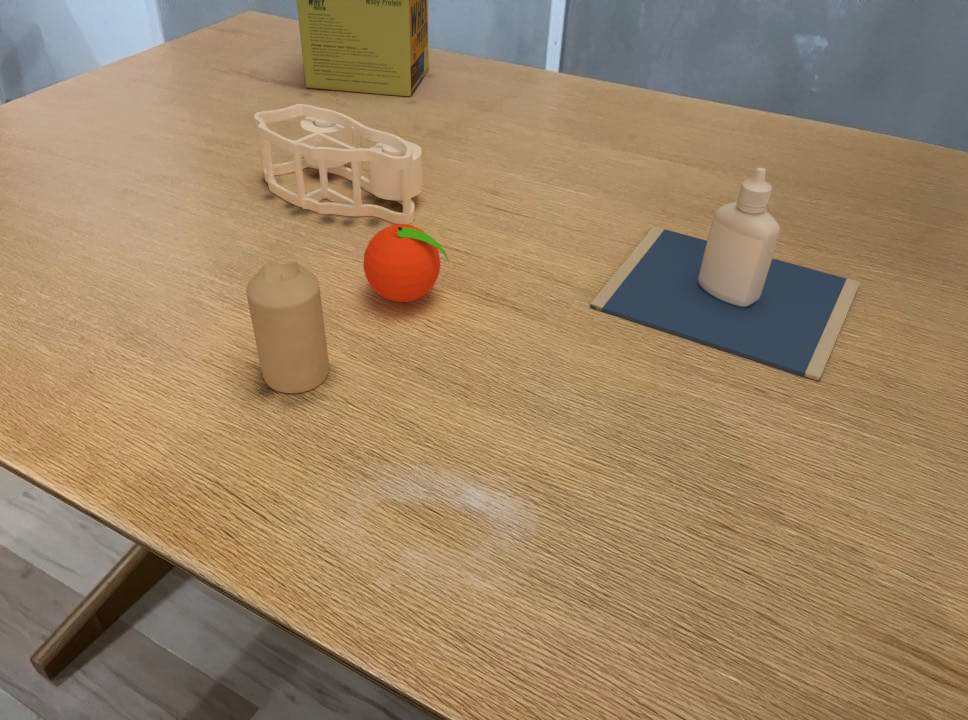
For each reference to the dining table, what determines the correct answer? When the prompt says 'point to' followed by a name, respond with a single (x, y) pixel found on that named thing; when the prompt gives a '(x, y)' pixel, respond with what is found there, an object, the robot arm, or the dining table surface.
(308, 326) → the candle
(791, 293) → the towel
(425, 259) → the clementine
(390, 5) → the protein box
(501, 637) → the dining table surface
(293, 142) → the cream open lattice frame
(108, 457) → the dining table surface
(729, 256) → the eye dropper bottle
